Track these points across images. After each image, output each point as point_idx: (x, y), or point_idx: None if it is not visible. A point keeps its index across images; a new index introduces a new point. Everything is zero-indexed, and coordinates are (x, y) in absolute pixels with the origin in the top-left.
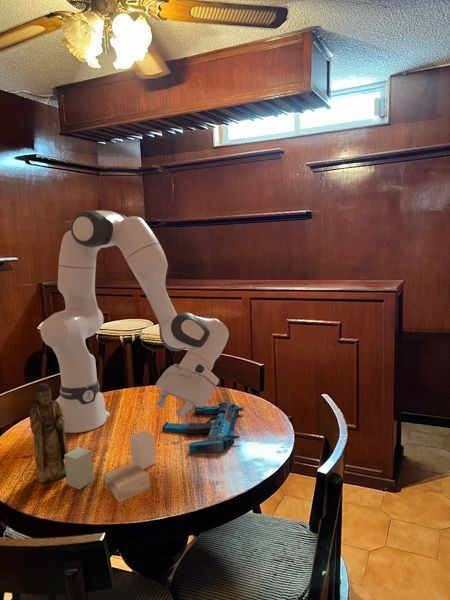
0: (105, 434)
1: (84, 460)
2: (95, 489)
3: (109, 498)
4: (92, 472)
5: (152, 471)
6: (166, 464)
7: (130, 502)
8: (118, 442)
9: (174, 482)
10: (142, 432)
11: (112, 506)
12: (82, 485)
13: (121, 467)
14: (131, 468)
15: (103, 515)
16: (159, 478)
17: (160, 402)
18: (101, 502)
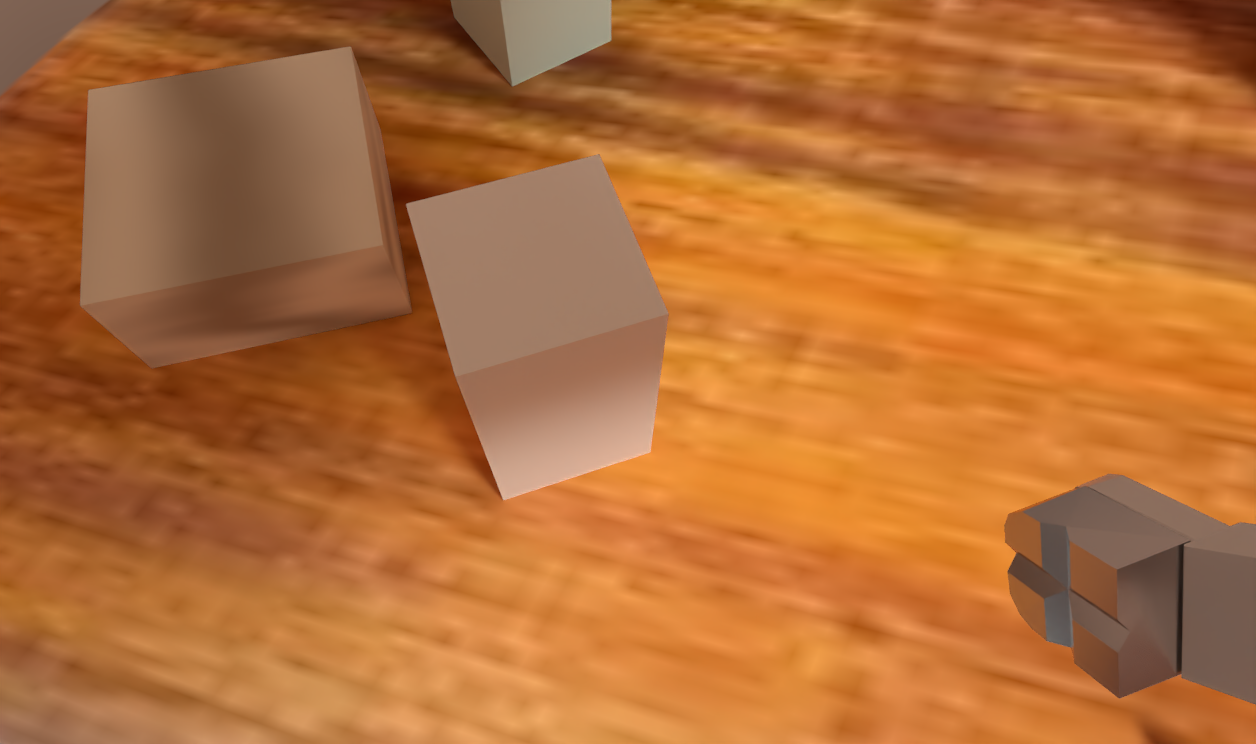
0: (1229, 234)
1: None
2: (395, 82)
3: None
4: (502, 34)
5: (384, 444)
6: (426, 591)
7: None
8: (1037, 300)
9: (87, 569)
10: (622, 284)
11: None
12: (464, 21)
13: (355, 150)
14: (288, 209)
15: (90, 85)
16: (239, 469)
17: (1093, 536)
18: None
